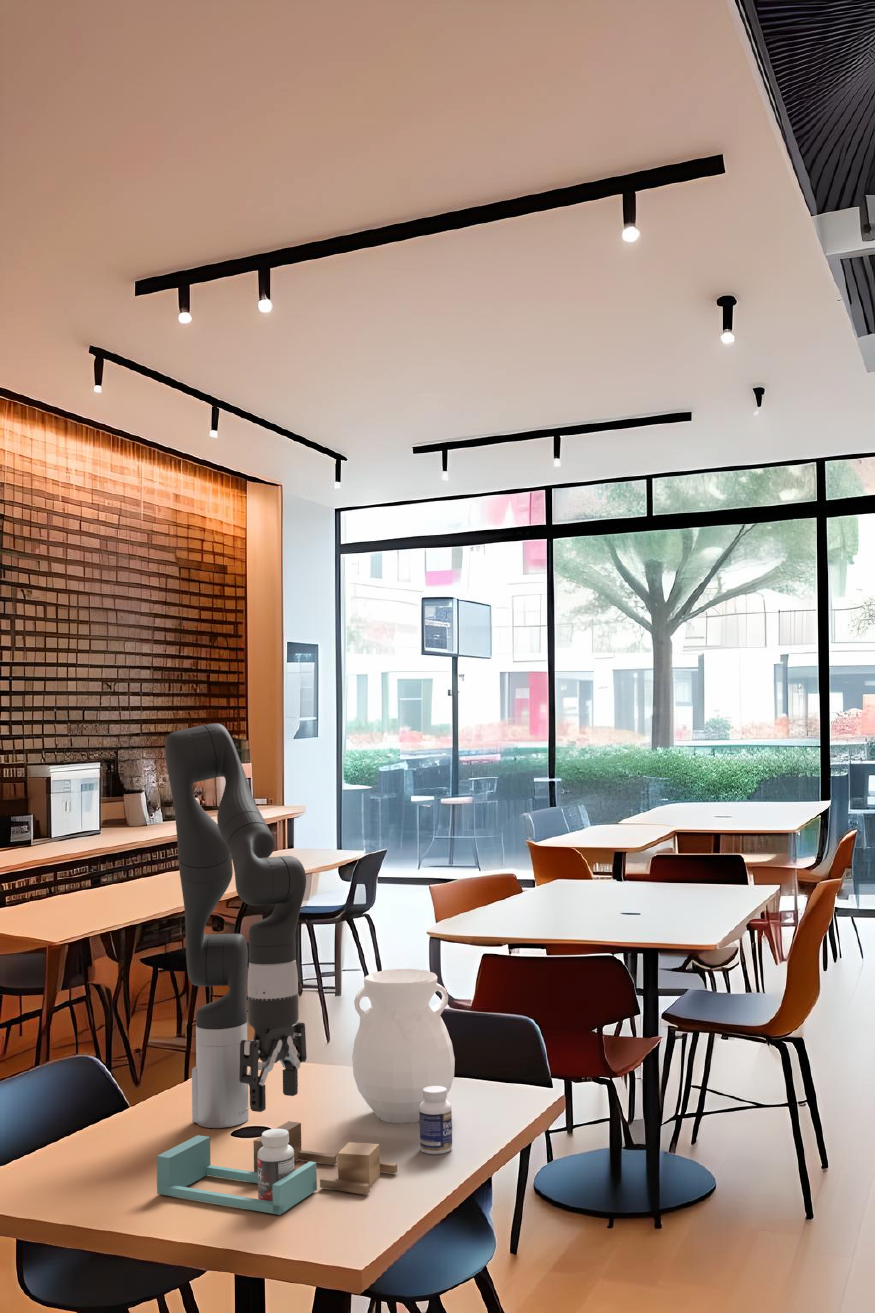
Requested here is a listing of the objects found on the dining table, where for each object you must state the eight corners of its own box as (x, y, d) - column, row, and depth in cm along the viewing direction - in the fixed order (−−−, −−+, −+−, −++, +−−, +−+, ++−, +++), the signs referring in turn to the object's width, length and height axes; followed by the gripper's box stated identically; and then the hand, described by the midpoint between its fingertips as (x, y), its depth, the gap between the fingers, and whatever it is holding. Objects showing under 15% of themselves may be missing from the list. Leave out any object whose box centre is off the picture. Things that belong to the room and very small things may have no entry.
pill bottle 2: (449, 1156, 185) (447, 1094, 186) (417, 1154, 186) (415, 1093, 187) (455, 1144, 190) (453, 1084, 191) (424, 1143, 191) (422, 1083, 192)
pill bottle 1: (250, 1202, 168) (249, 1134, 169) (277, 1191, 172) (276, 1124, 173) (275, 1211, 164) (274, 1141, 165) (302, 1199, 169) (301, 1131, 169)
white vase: (358, 1136, 196) (354, 988, 198) (349, 1104, 214) (346, 969, 216) (464, 1127, 198) (460, 981, 201) (447, 1097, 217) (443, 963, 219)
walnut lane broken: (254, 1177, 177) (253, 1140, 178) (289, 1156, 186) (288, 1121, 187) (366, 1194, 169) (365, 1156, 169) (397, 1171, 178) (396, 1135, 178)
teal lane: (157, 1193, 171) (156, 1156, 172) (198, 1171, 180) (197, 1135, 181) (279, 1215, 162) (279, 1175, 163) (316, 1190, 171) (316, 1152, 172)
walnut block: (338, 1187, 173) (337, 1153, 173) (349, 1175, 178) (348, 1142, 178) (369, 1189, 172) (368, 1155, 172) (380, 1177, 176) (379, 1144, 177)
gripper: (266, 1002, 163) (268, 1119, 161) (319, 984, 176) (321, 1092, 174) (223, 999, 166) (225, 1114, 164) (278, 981, 179) (280, 1087, 177)
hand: (274, 1103), depth 169 cm, fingers open, 8 cm apart
